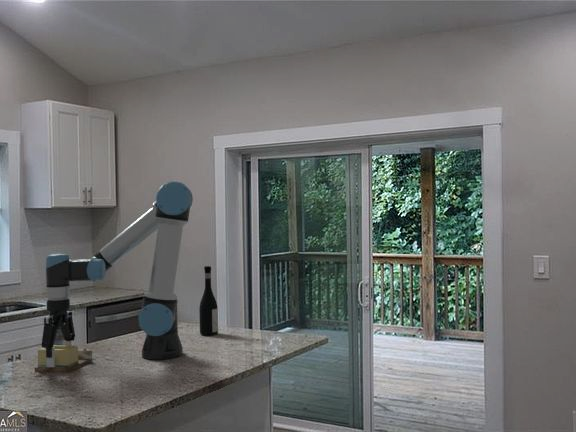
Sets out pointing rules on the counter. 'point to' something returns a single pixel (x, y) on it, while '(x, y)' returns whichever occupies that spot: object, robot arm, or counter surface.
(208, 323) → the wine bottle
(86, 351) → the wall board
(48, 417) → the counter surface
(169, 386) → the counter surface
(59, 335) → the beverage can
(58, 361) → the frame
